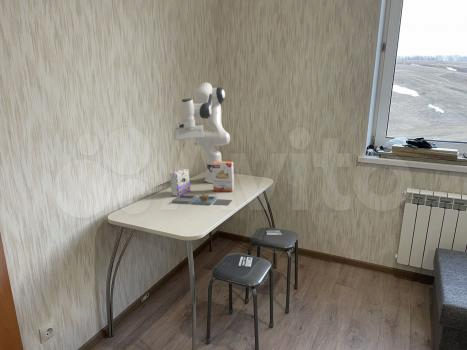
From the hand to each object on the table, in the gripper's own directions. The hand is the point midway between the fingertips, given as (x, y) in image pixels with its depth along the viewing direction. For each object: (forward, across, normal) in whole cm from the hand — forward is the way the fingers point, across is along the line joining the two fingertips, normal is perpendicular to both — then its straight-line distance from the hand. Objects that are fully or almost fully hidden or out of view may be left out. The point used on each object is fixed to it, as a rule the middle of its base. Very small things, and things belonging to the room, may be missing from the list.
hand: (189, 145), depth 228 cm
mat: (+36, -11, +22) cm, 43 cm away
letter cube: (+35, -3, +14) cm, 38 cm away
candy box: (+35, +3, -13) cm, 37 cm away
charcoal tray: (+35, +7, +4) cm, 36 cm away
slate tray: (+36, -3, +14) cm, 38 cm away
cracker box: (+35, -24, -1) cm, 43 cm away
